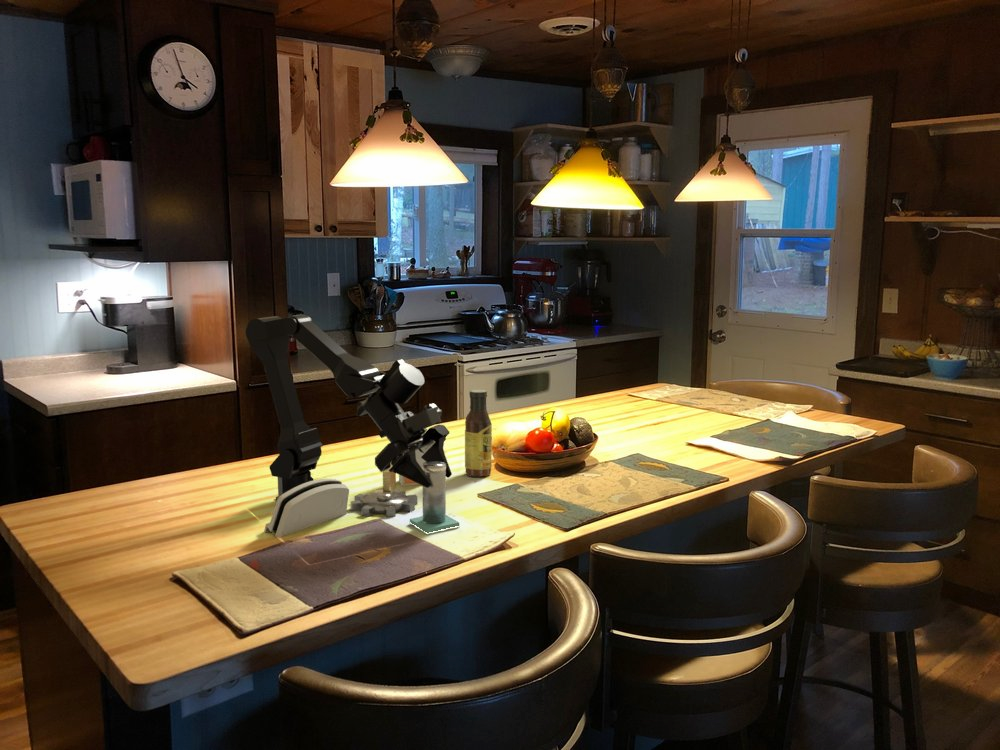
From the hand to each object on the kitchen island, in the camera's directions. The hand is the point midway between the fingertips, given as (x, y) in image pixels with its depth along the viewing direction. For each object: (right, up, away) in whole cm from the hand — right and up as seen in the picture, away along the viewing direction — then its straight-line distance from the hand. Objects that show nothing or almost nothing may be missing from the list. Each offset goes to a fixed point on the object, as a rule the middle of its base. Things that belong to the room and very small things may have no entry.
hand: (440, 481), depth 160 cm
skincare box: (-8, -4, +31) cm, 32 cm away
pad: (-1, -9, +2) cm, 9 cm away
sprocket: (-12, -7, +15) cm, 21 cm away
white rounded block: (-25, -9, +3) cm, 27 cm away
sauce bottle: (+6, -3, +38) cm, 38 cm away
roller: (-1, -8, +2) cm, 8 cm away
